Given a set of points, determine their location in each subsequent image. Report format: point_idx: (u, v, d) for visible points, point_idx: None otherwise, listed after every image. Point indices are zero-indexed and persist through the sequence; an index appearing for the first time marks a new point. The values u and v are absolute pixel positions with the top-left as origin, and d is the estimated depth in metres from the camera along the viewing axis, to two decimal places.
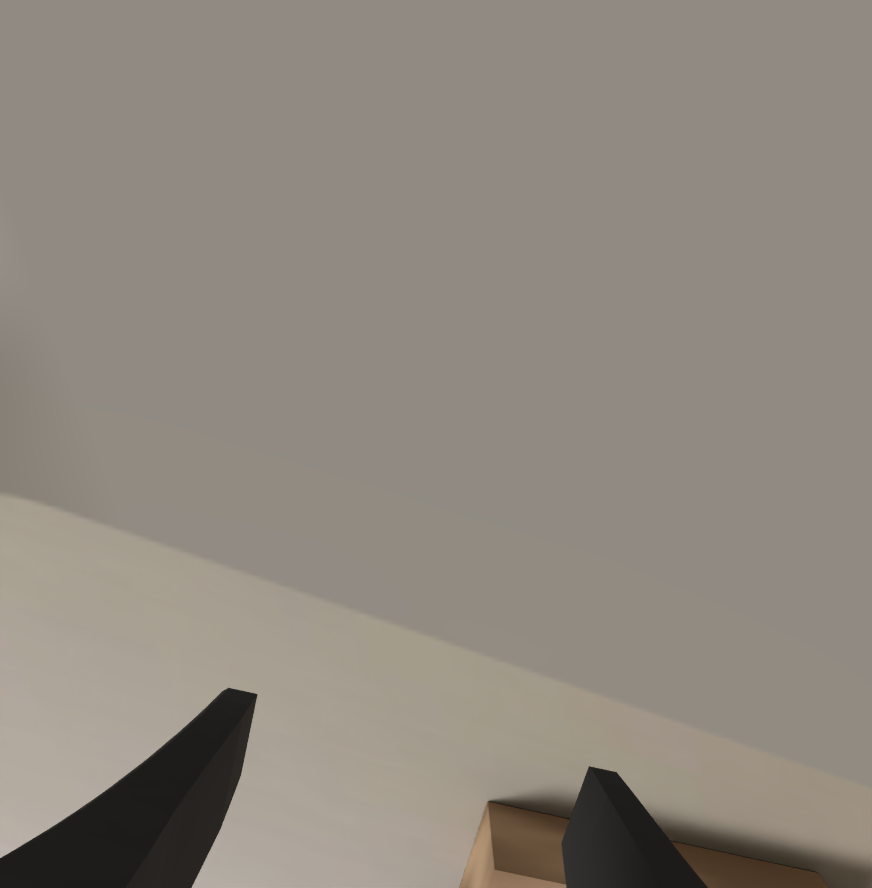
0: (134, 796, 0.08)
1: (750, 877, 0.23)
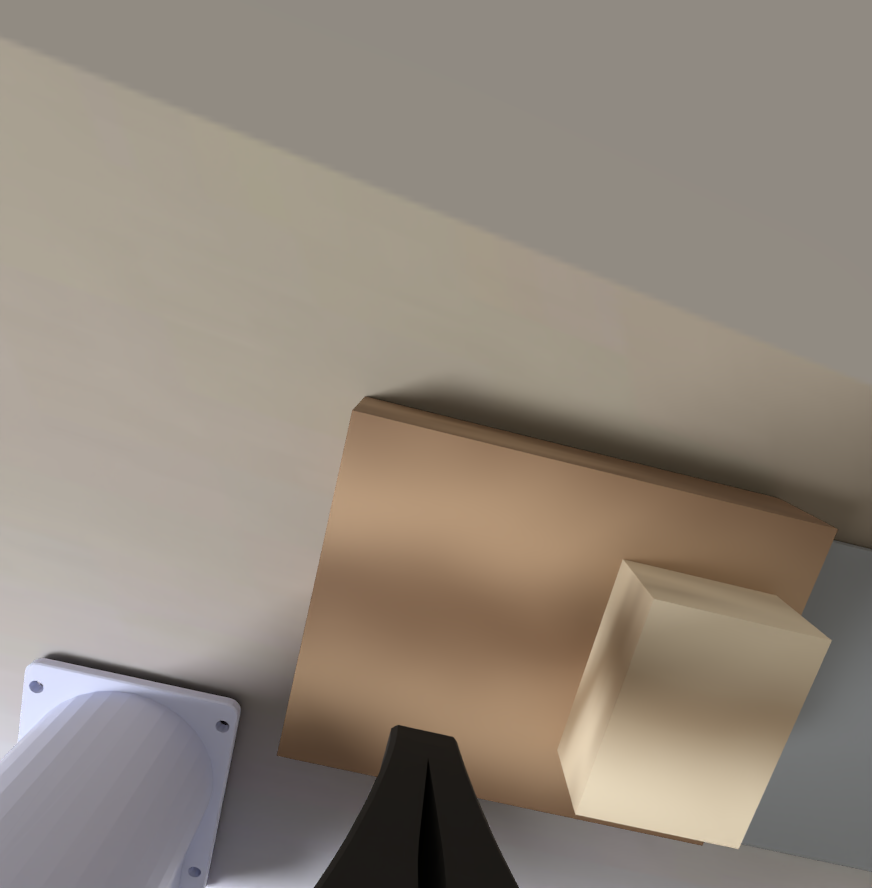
0: (376, 846, 0.08)
1: (692, 481, 0.19)
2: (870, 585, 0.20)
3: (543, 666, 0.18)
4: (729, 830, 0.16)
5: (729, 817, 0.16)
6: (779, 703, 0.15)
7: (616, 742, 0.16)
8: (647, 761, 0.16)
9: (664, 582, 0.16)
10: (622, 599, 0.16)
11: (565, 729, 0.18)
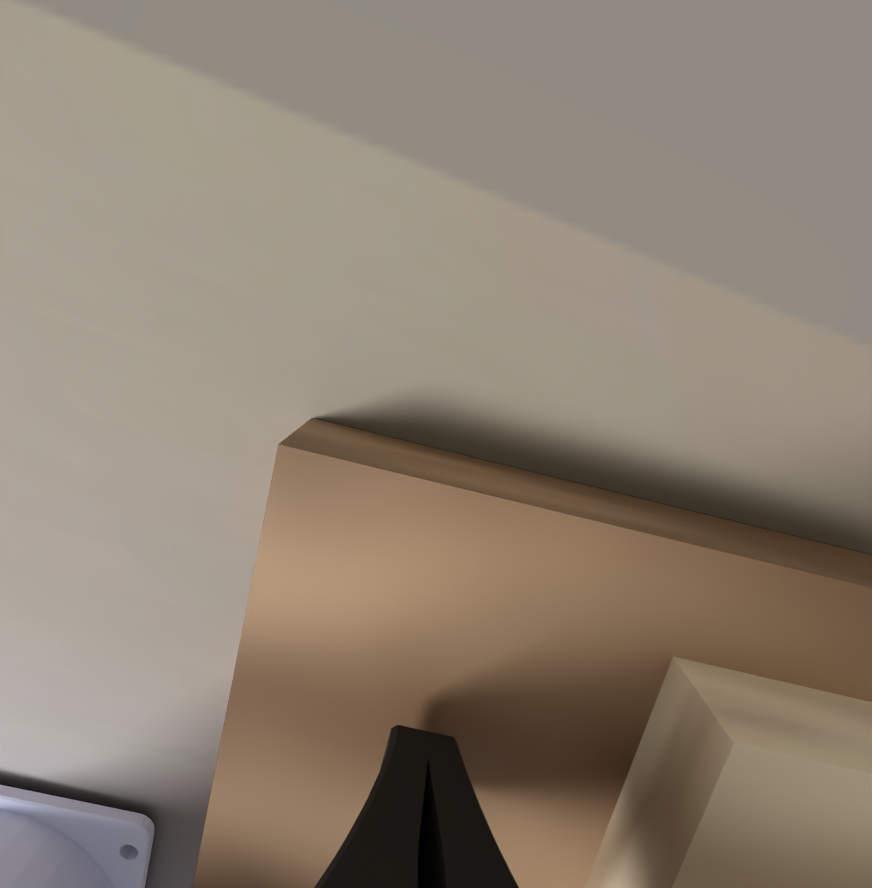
0: (376, 846, 0.08)
1: (763, 537, 0.14)
2: None
3: (557, 801, 0.13)
4: None
5: None
6: None
7: None
8: None
9: (739, 699, 0.11)
10: (675, 720, 0.11)
11: (587, 885, 0.13)
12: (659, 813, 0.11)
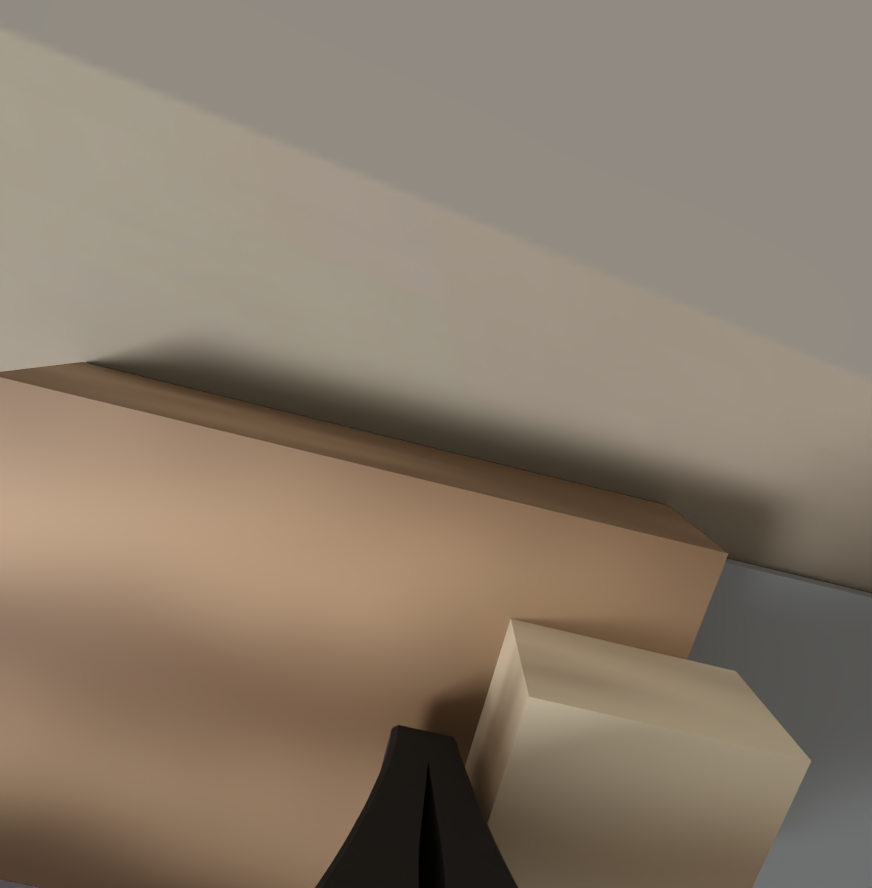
0: (377, 846, 0.08)
1: (537, 482, 0.13)
2: (796, 625, 0.15)
3: (313, 749, 0.12)
4: None
5: None
6: (731, 852, 0.10)
7: None
8: None
9: (561, 659, 0.11)
10: (503, 681, 0.11)
11: None
12: (483, 774, 0.11)
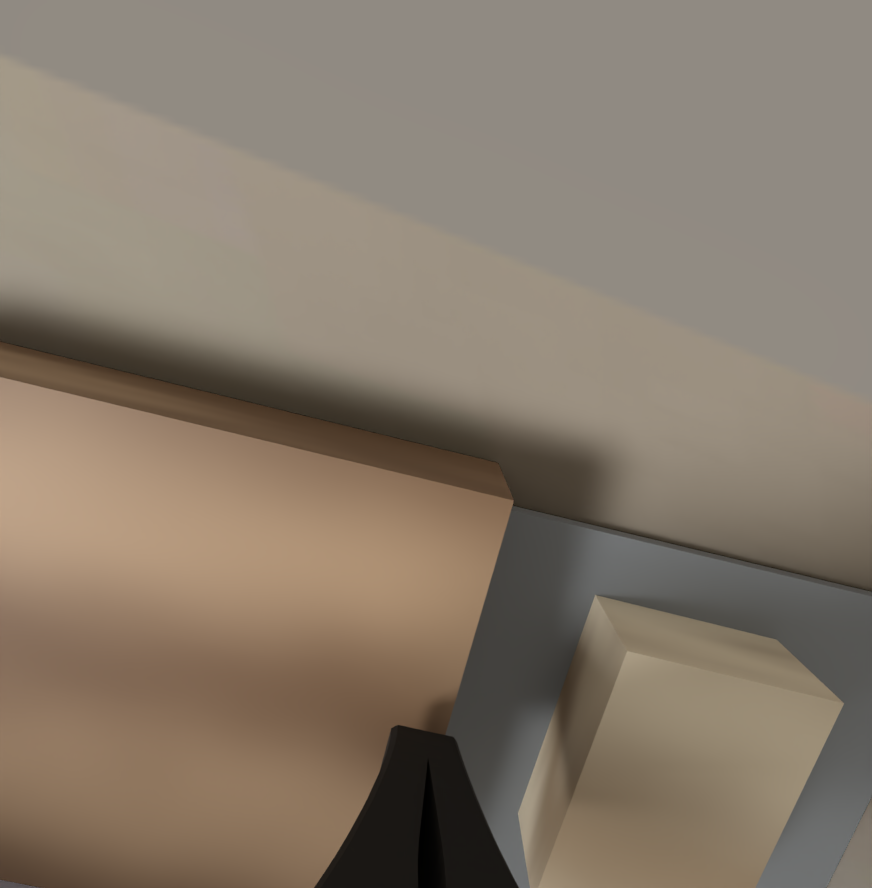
0: (375, 846, 0.08)
1: (348, 435, 0.13)
2: (631, 585, 0.14)
3: (108, 705, 0.12)
4: None
5: None
6: None
7: None
8: None
9: (776, 663, 0.13)
10: None
11: None
12: None
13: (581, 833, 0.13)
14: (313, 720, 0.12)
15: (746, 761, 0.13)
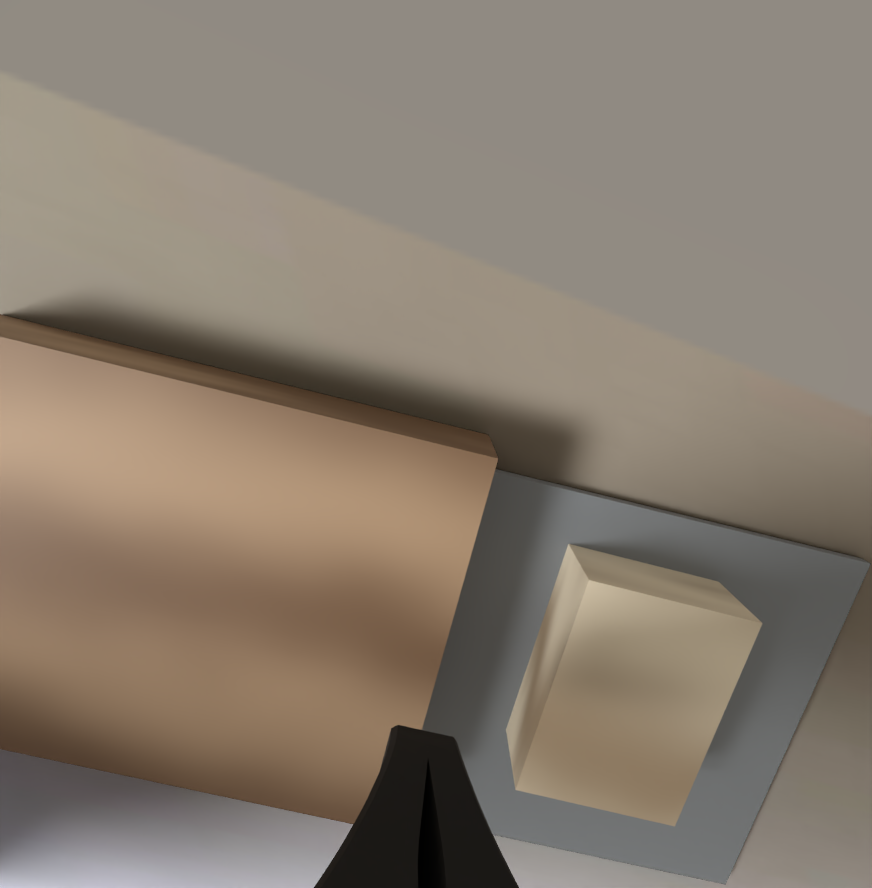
0: (376, 846, 0.08)
1: (367, 411, 0.16)
2: (598, 536, 0.18)
3: (178, 622, 0.15)
4: None
5: None
6: None
7: None
8: None
9: (713, 596, 0.16)
10: None
11: (683, 801, 0.17)
12: None
13: (554, 731, 0.16)
14: (340, 636, 0.15)
15: (686, 671, 0.16)
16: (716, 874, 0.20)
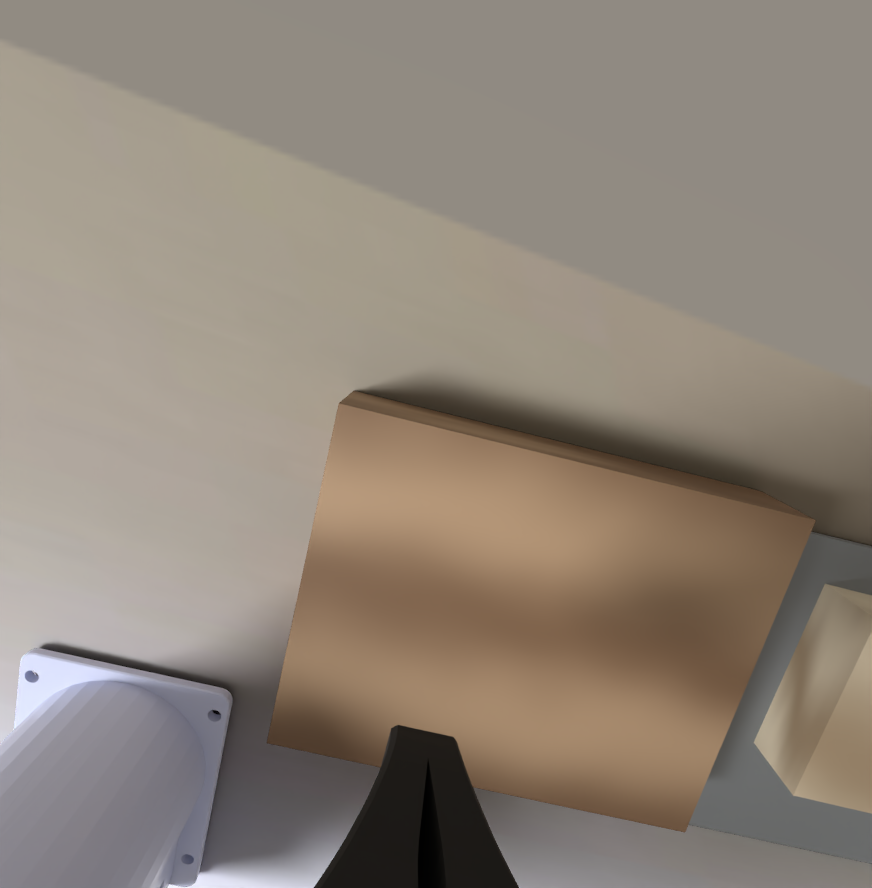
0: (375, 846, 0.08)
1: (674, 474, 0.19)
2: (851, 577, 0.20)
3: (527, 655, 0.18)
4: None
5: None
6: None
7: None
8: None
9: None
10: None
11: None
12: None
13: (832, 745, 0.19)
14: (663, 666, 0.18)
15: None
16: None
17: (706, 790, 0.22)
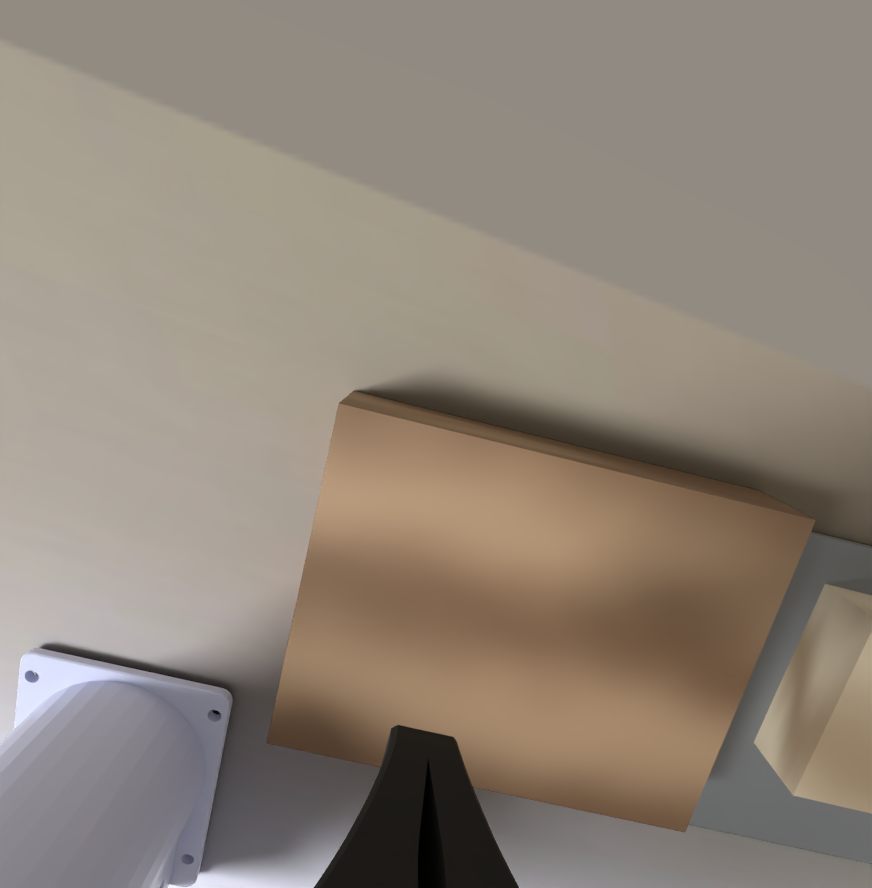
0: (375, 846, 0.08)
1: (674, 474, 0.19)
2: (851, 577, 0.20)
3: (527, 655, 0.18)
4: None
5: None
6: None
7: None
8: None
9: None
10: None
11: None
12: None
13: (832, 745, 0.19)
14: (663, 666, 0.18)
15: None
16: None
17: (706, 790, 0.22)
